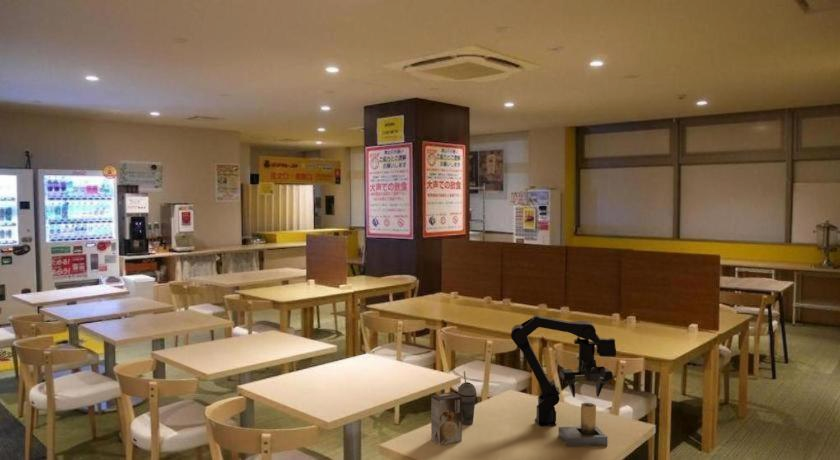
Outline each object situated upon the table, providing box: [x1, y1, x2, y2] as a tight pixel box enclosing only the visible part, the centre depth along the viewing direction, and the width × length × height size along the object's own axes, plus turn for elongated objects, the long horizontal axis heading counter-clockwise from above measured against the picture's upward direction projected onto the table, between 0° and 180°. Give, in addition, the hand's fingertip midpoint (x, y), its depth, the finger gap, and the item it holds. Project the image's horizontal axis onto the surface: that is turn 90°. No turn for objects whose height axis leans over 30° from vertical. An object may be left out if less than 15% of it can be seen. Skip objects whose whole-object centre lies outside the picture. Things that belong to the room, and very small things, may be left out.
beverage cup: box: [457, 370, 478, 427], centre depth 226 cm, size 7×7×20 cm
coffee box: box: [430, 391, 463, 446], centre depth 210 cm, size 9×6×16 cm
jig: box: [557, 425, 608, 448], centre depth 212 cm, size 14×10×3 cm
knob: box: [580, 402, 597, 435], centre depth 212 cm, size 5×5×13 cm
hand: (585, 396), depth 224 cm, fingers open, 9 cm apart
